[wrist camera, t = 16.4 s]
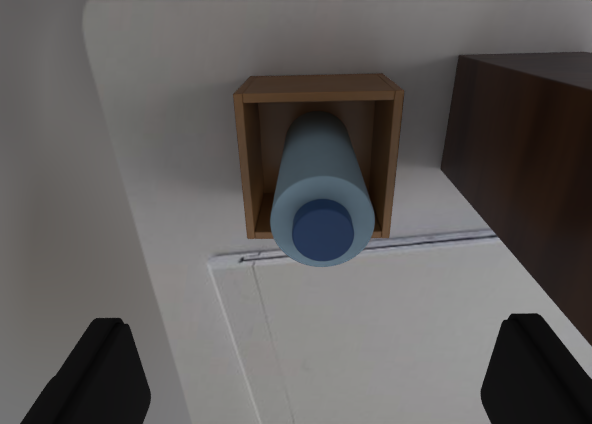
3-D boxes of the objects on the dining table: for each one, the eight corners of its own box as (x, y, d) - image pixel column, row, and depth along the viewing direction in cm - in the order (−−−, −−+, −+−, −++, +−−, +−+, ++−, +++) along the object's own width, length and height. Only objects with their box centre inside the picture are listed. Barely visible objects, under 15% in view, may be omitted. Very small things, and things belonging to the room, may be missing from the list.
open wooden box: (259, 195, 30) (247, 239, 24) (249, 76, 26) (232, 93, 20) (373, 194, 30) (389, 238, 24) (383, 73, 25) (404, 90, 20)
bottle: (277, 161, 28) (254, 263, 16) (297, 101, 26) (287, 170, 14) (335, 180, 28) (353, 292, 17) (359, 123, 26) (398, 206, 15)
